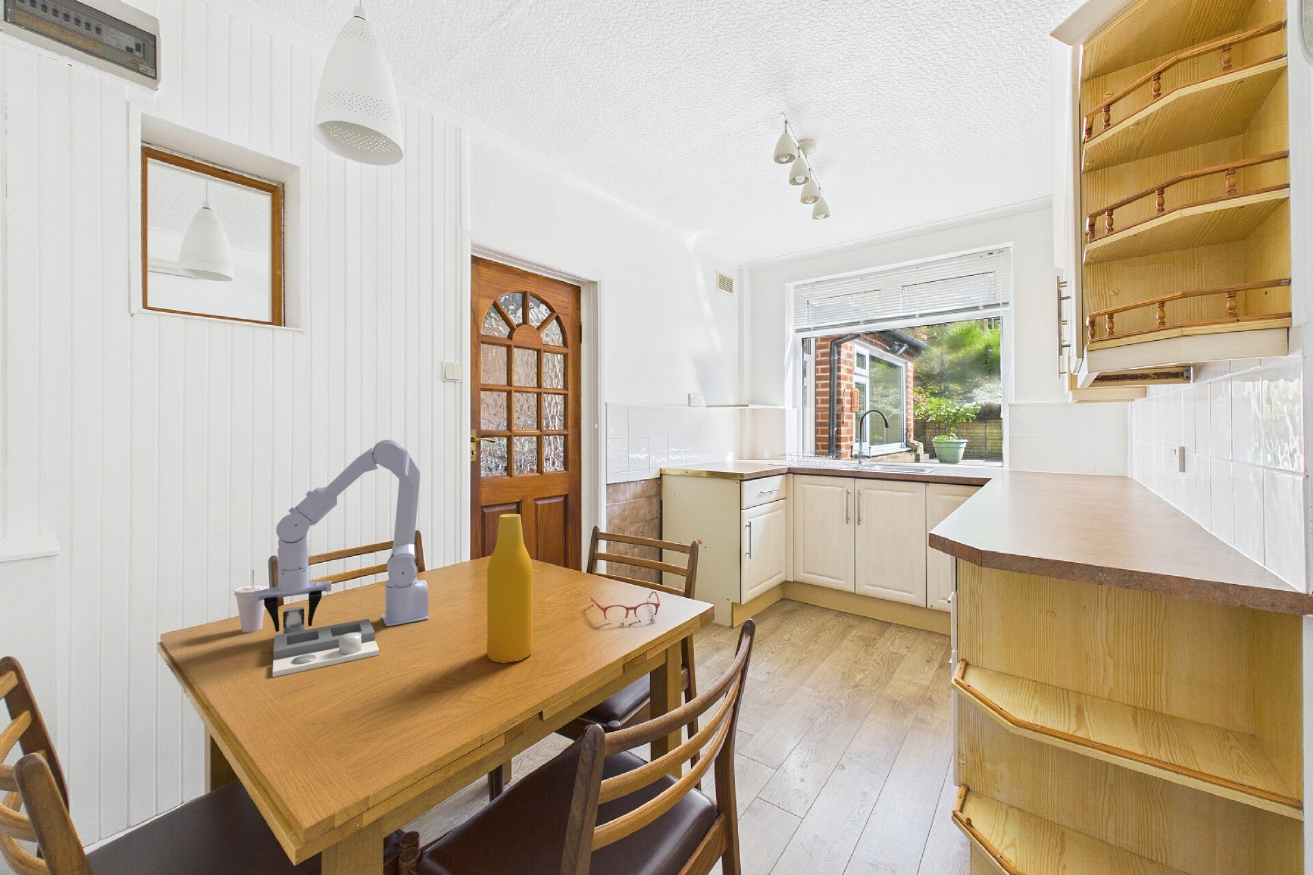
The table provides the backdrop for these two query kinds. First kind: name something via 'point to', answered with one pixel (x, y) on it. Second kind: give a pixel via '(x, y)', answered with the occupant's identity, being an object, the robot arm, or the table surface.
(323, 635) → the grey square hole plate
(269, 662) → the table surface
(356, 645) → the white peg base plate
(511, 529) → the beer bottle
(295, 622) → the pin
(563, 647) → the table surface
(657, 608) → the red eyeglasses
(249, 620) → the smoothie
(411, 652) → the table surface
